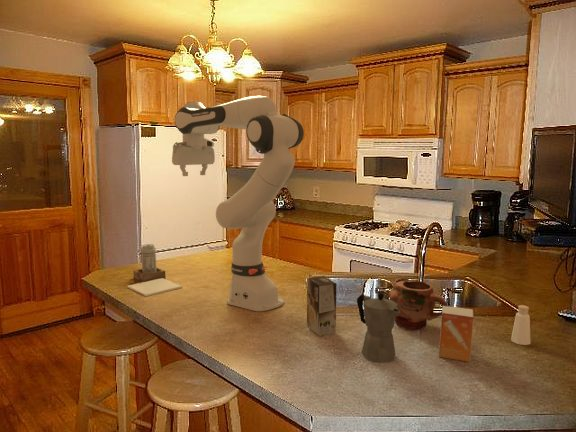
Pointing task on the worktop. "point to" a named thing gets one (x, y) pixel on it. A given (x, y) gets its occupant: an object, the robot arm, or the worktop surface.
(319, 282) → the coffee box
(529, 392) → the worktop surface
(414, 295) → the decorative planter
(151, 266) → the energy drink can
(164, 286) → the tile
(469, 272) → the worktop surface
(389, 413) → the worktop surface
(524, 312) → the salt shaker
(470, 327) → the small box
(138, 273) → the holder
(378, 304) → the coffeepot
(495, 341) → the worktop surface
